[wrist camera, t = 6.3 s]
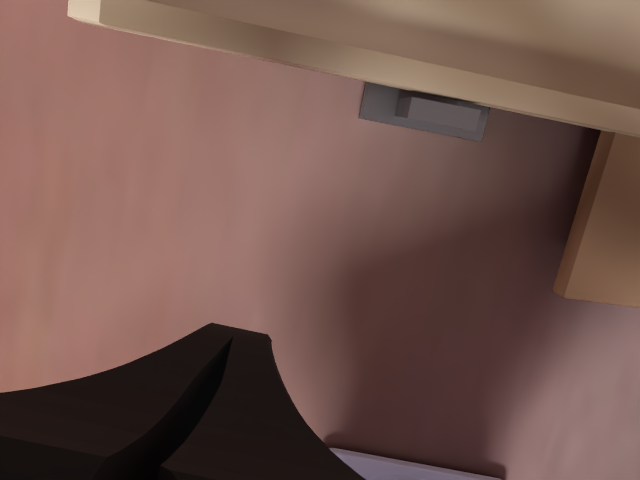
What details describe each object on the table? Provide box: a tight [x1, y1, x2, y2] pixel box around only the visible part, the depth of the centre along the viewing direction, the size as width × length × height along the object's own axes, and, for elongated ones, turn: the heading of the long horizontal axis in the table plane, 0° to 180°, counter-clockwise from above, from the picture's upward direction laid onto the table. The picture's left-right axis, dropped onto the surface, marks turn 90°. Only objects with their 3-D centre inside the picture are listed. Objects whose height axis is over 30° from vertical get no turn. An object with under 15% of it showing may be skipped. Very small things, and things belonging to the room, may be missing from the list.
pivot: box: [359, 82, 490, 142], centre depth 17 cm, size 7×4×4 cm, turn 169°
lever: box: [67, 0, 640, 308], centre depth 16 cm, size 11×20×2 cm, turn 79°
